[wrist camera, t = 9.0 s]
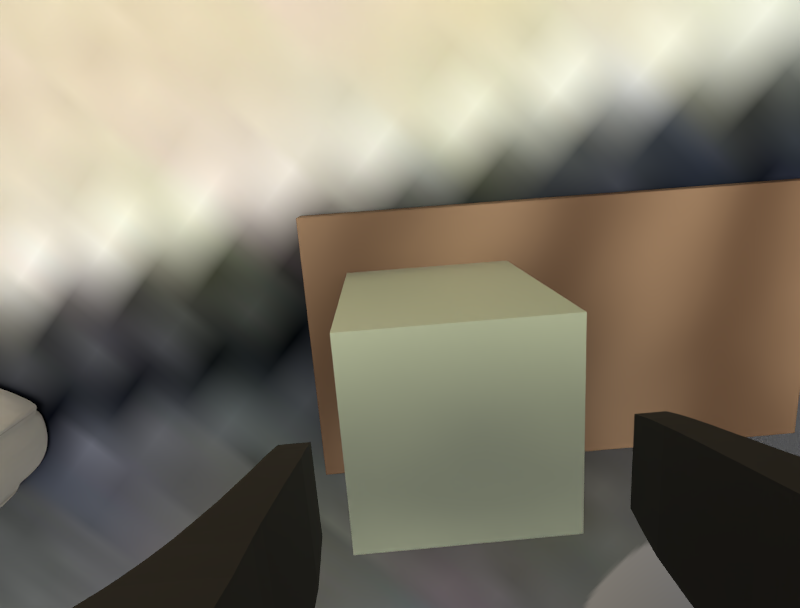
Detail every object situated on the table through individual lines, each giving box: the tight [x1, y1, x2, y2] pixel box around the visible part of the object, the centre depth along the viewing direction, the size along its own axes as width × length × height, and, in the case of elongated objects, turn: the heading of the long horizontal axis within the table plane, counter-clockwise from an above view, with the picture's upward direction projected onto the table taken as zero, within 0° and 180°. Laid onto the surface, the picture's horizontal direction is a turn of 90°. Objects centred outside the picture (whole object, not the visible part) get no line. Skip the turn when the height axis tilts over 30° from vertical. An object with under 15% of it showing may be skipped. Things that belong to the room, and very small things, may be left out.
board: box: [296, 179, 800, 475], centre depth 18 cm, size 17×9×1 cm, turn 94°
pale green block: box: [330, 261, 587, 555], centre depth 14 cm, size 5×5×7 cm
